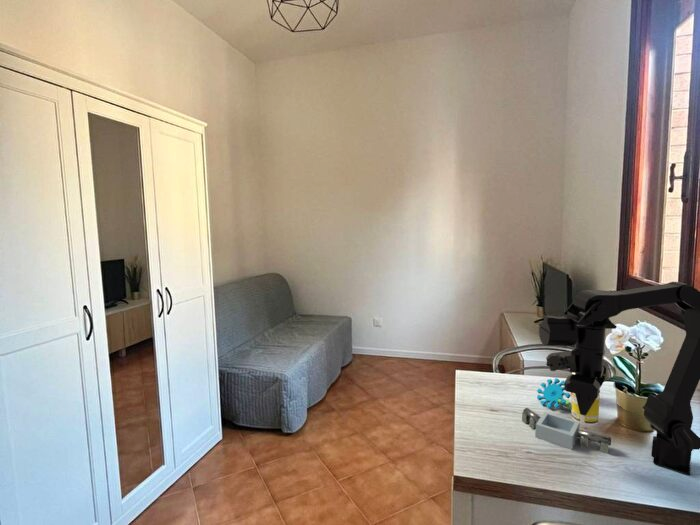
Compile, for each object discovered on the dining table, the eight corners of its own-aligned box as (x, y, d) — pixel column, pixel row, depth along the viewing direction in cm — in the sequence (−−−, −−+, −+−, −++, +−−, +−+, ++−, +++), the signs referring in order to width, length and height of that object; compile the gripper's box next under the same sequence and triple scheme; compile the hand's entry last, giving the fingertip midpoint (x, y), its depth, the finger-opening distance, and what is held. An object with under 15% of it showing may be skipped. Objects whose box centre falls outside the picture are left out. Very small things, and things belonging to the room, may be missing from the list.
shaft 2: (609, 447, 95) (610, 434, 94) (610, 454, 92) (611, 440, 91) (576, 439, 98) (577, 426, 98) (576, 445, 95) (577, 432, 95)
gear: (529, 393, 120) (551, 371, 120) (538, 403, 122) (561, 381, 122) (553, 415, 110) (578, 391, 109) (563, 425, 112) (588, 402, 111)
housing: (578, 434, 100) (579, 422, 100) (571, 449, 94) (572, 436, 93) (544, 423, 106) (544, 411, 105) (535, 437, 99) (535, 424, 99)
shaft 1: (545, 429, 103) (545, 417, 102) (534, 430, 102) (535, 418, 102) (530, 418, 108) (531, 407, 108) (521, 420, 108) (521, 408, 107)
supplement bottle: (600, 419, 89) (603, 380, 88) (594, 429, 85) (597, 388, 84) (574, 411, 93) (576, 373, 92) (568, 420, 89) (570, 381, 88)
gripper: (559, 329, 99) (555, 386, 101) (540, 349, 85) (537, 414, 87) (610, 338, 92) (605, 399, 94) (599, 360, 78) (594, 432, 80)
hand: (585, 409), depth 89 cm, fingers closed on supplement bottle, 5 cm apart
